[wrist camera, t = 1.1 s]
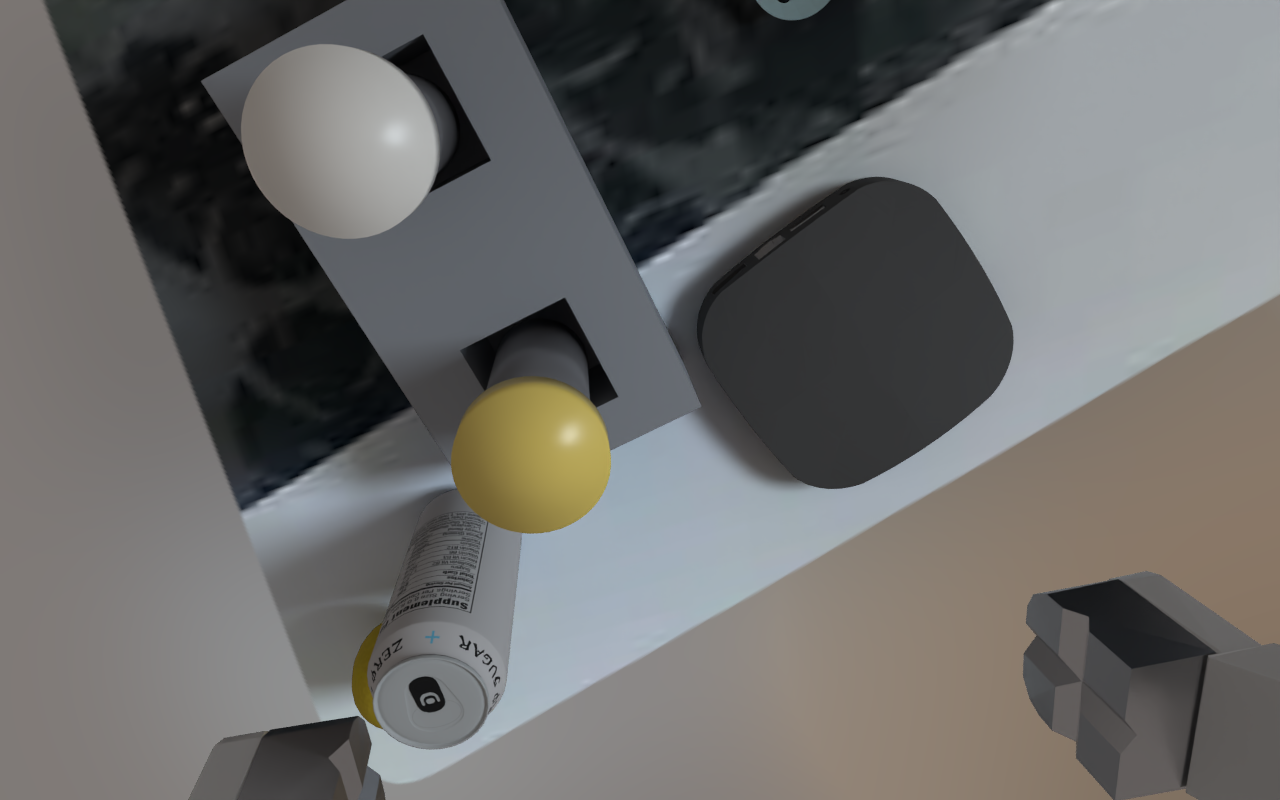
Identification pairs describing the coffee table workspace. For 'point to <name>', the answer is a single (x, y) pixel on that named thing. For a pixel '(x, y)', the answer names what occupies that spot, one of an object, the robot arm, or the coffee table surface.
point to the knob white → (346, 139)
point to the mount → (486, 227)
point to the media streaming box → (857, 333)
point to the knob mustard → (533, 434)
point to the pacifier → (792, 8)
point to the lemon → (364, 678)
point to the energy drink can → (446, 628)
